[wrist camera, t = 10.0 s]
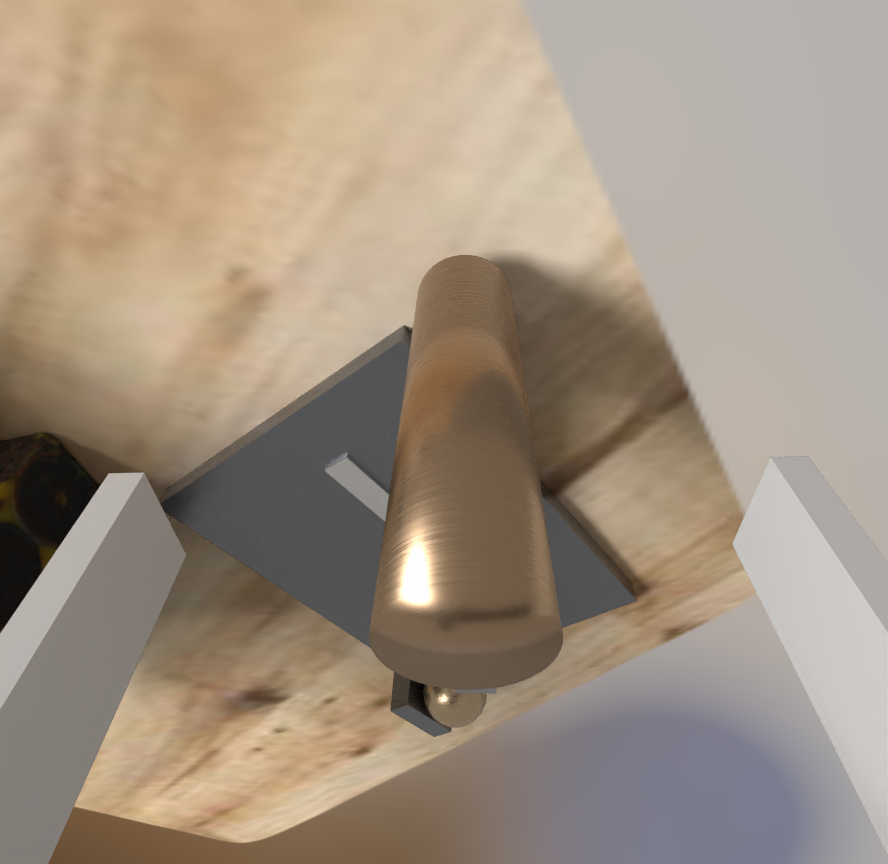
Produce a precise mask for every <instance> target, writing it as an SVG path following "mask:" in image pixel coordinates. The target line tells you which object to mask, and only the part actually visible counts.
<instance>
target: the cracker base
mask: <svg viewBox="0 0 888 864" xmlns="http://www.w3.org/2000/svg"><path fill="white" fill-rule="evenodd" d="M411 338H412V334H411V333H410V332H409V331H408V330H407V329H406V327H405V326H402V327H401V328H399V329H398V330H397V331H395V332H394V333H392V334H391V335H389V336H388V337H386V338H385V339H383V340H382V341H381V342H379V343H378V344H376V345H375V346H373V347H372V348H370V349H369V350H368V351H366V352H365V353H363V354H362V355H360V356H359V357H357V358H356V359H354V360H353V361H352V362H350V363H349V364H347V365H346V366H344V367H343V368H341V369H340V370H339V371H337V372H336V373H334V374H333V375H331V376H330V377H328V378H327V379H325V380H324V381H323V382H321V383H320V384H318V385H317V386H315V387H314V388H312V389H311V390H310V391H308V392H307V393H305V394H304V395H302V396H301V397H299V398H298V399H296V400H295V401H294V402H292V403H291V404H289V405H288V406H286V407H285V408H283V409H282V410H280V411H279V412H278V413H276V414H275V415H273V416H272V417H270V418H269V419H267V420H266V421H265V422H263V423H262V424H260V425H259V426H257V427H256V428H254V429H253V430H251V431H250V432H249V433H247V434H246V435H244V436H243V437H241V438H240V439H238V440H237V441H236V442H234V443H233V444H231V445H230V446H228V447H227V448H225V449H224V450H222V451H221V452H220V453H218V454H217V455H215V456H214V457H212V458H211V459H209V460H208V461H207V462H205V463H204V464H202V465H201V466H199V467H198V468H196V469H195V470H193V471H192V472H191V473H189V474H188V475H186V476H185V477H183V478H182V479H180V480H179V481H177V482H176V483H175V484H173V485H172V486H170V487H169V488H167V489H166V491H165V492H164V494H163V496H162V498H161V499H160V501H159V503H160V505H161V506H162V508H163V510H164V511H165V512H166V513H168V514H169V515H171V516H172V517H174V518H175V519H177V520H178V521H180V522H181V523H183V524H184V525H186V526H187V527H189V528H190V529H192V530H193V531H195V532H196V533H198V534H199V535H201V536H202V537H204V538H205V539H207V540H208V541H210V542H211V543H213V544H214V545H216V546H217V547H219V548H220V549H222V550H224V551H225V552H227V553H228V554H230V555H231V556H233V557H234V558H236V559H237V560H239V561H240V562H242V563H243V564H245V565H246V566H248V567H249V568H251V569H252V570H254V571H255V572H257V573H258V574H260V575H261V576H263V577H264V578H266V579H267V580H269V581H270V582H272V583H273V584H275V585H276V586H278V587H279V588H281V589H282V590H284V591H286V592H287V593H289V594H290V595H292V596H293V597H295V598H296V599H298V600H299V601H301V602H302V603H304V604H305V605H307V606H308V607H310V608H311V609H313V610H314V611H316V612H317V613H319V614H320V615H322V616H323V617H325V618H326V619H328V620H329V621H331V622H332V623H334V624H335V625H337V626H338V627H340V628H341V629H343V630H344V631H346V632H347V633H349V634H351V635H352V636H354V637H355V638H357V639H358V640H360V641H361V642H363V643H364V644H366V645H367V646H369V647H370V648H371V645H370V641H369V631H370V624H371V617H372V610H373V603H374V596H375V589H376V582H377V575H378V568H379V561H380V554H381V547H382V540H383V533H384V526H385V519H386V512H387V505H388V498H389V491H390V484H391V477H392V470H393V463H394V457H395V450H396V443H397V436H398V429H399V422H400V415H401V408H402V401H403V394H404V387H405V380H406V373H407V366H408V359H409V352H410V345H411ZM539 480H540V479H539ZM540 487H541V493H542V500H543V507H544V513H545V520H546V527H547V533H548V540H549V547H550V554H551V560H552V567H553V574H554V580H555V587H556V594H557V600H558V607H559V614H560V620H561V627H562V628H563V627H566V626H569V625H571V624H574V623H577V622H580V621H583V620H585V619H588V618H591V617H594V616H596V615H599V614H602V613H605V612H608V611H610V610H613V609H616V608H619V607H622V606H624V605H627V604H630V603H633V602H635V601H637V600H636V596H635V593H634V589H633V586H632V583H631V582H630V581H629V580H628V578H627V577H626V576H625V575H624V574H623V573H622V572H621V571H620V569H619V568H618V567H617V566H616V565H615V564H614V563H613V561H612V560H611V559H610V558H609V557H608V556H607V555H606V554H605V552H604V551H603V550H602V549H601V548H600V547H599V546H598V545H597V543H596V542H595V541H594V540H593V539H592V538H591V537H590V535H589V534H588V533H587V532H586V531H585V530H584V529H583V528H582V526H581V525H580V524H579V523H578V522H577V521H576V520H575V519H574V517H573V516H572V515H571V514H570V513H569V512H568V511H567V509H566V508H565V507H564V506H563V505H562V504H561V503H560V502H559V500H558V499H557V498H556V497H555V496H554V495H553V494H552V493H551V491H550V490H549V489H548V488H547V487H546V486H545V485H544V483H543V482H542V481H541V480H540ZM486 698H487V693H455V689H447V688H440V687H434V686H430V685H426V684H422V683H419V682H416V681H413V680H410V679H408V678H405V677H403V676H401V675H399V674H397V673H395V672H394V679H393V689H392V700H391V710H390V711H391V712H393V713H395V714H396V715H398V716H400V717H401V718H403V719H405V720H406V721H408V722H410V723H411V724H413V725H415V726H417V727H418V728H420V729H422V730H423V731H425V732H427V733H428V734H430V735H432V736H433V737H436V736H439V735H442V734H446V733H449V732H451V727H463V726H466V725H468V724H470V723H472V722H473V721H474V720H475V719H477V717H478V716H479V715H480V714H481V712H482V710H483V708H484V706H485V703H486Z"/></svg>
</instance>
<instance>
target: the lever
mask: <svg viewBox="0 0 888 864" xmlns="http://www.w3.org/2000/svg"><path fill="white" fill-rule="evenodd" d="M369 641H370V645H371V648H372V650H373V652H374V653H375V655H376V656H377V658H378V659H379V660H380V661H381V662H382V663H383V664H384V665H386V666H387V667H388V668H389V669H391V670H392V671H394V672H395V673H397V674H399V675H401V676H403V677H405V678H408V679H410V680H413V681H416V682H419V683H422V684H426V685H430V686H434V687H440V688H447V689H455V693H496V687H502V686H506V685H510V684H514V683H517V682H520V681H523V680H525V679H527V678H530V677H532V676H534V675H536V674H537V673H539V672H541V671H542V670H544V669H545V668H546V667H547V666H549V665H550V664H551V663H552V662H553V661H554V659H555V658H556V657H557V655H558V654H559V652H560V650H561V647H562V643H563V634H562V627H561V620H560V614H559V607H558V600H557V594H556V587H555V580H554V574H553V567H552V560H551V554H550V547H549V540H548V533H547V527H546V520H545V513H544V507H543V500H542V493H541V487H540V480H539V473H538V467H537V460H536V453H535V447H534V440H533V433H532V427H531V420H530V413H529V406H528V400H527V393H526V386H525V380H524V373H523V366H522V360H521V353H520V346H519V340H518V333H517V326H516V320H515V313H514V306H513V300H512V293H511V288H510V285H509V282H508V280H507V278H506V276H505V275H504V274H503V272H502V271H501V270H500V269H499V268H498V267H497V266H496V265H494V264H493V263H491V262H490V261H488V260H486V259H483V258H481V257H477V256H472V255H459V256H453V257H450V258H447V259H444V260H442V261H440V262H439V263H437V264H436V265H434V266H433V267H432V268H431V269H430V270H429V271H428V272H427V273H426V275H425V276H424V278H423V279H422V282H421V284H420V287H419V290H418V296H417V303H416V310H415V317H414V324H413V331H412V338H411V345H410V352H409V359H408V366H407V373H406V380H405V387H404V394H403V401H402V408H401V415H400V422H399V429H398V436H397V443H396V450H395V457H394V463H393V470H392V477H391V484H390V491H389V498H388V505H387V512H386V519H385V526H384V533H383V540H382V547H381V554H380V561H379V568H378V575H377V582H376V589H375V596H374V603H373V610H372V617H371V624H370V631H369Z"/></svg>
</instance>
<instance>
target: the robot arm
mask: <svg viewBox="0 0 888 864" xmlns="http://www.w3.org/2000/svg"><path fill="white" fill-rule="evenodd" d="M733 546H734V548H735V550H736V552H737V554H738V556H739V558H740V560H741V562H742V564H743V566H744V568H745V570H746V572H747V574H748V576H749V578H750V580H751V582H752V584H753V586H754V588H755V590H756V592H757V594H758V596H759V598H760V600H761V602H762V604H763V606H764V608H765V610H766V612H767V614H768V616H769V618H770V620H771V622H772V624H773V626H774V628H775V630H776V632H777V634H778V636H779V638H780V640H781V642H782V644H783V646H784V648H785V650H786V652H787V654H788V656H789V658H790V660H791V662H792V664H793V666H794V668H795V670H796V672H797V674H798V676H799V678H800V680H801V682H802V684H803V686H804V688H805V690H806V692H807V694H808V696H809V698H810V700H811V702H812V704H813V706H814V708H815V710H816V712H817V714H818V716H819V718H820V720H821V722H822V724H823V726H824V728H825V730H826V732H827V734H828V736H829V738H830V740H831V742H832V744H833V746H834V748H835V750H836V752H837V754H838V756H839V758H840V760H841V762H842V764H843V766H844V768H845V770H846V772H847V774H848V776H849V778H850V780H851V782H852V784H853V786H854V788H855V790H856V792H857V794H858V796H859V798H860V800H861V802H862V804H863V806H864V808H865V810H866V812H867V814H868V816H869V818H870V820H871V822H872V824H873V826H874V828H875V830H876V832H877V834H878V836H879V838H880V840H881V842H882V844H883V846H884V848H885V850H886V852H887V854H888V562H887V561H886V560H885V558H884V557H883V556H882V555H881V553H880V552H879V550H878V549H877V548H876V546H875V545H874V544H873V542H872V541H871V540H870V538H869V537H868V536H867V534H866V533H865V532H864V530H863V529H862V528H861V526H860V525H859V524H858V522H857V521H856V520H855V518H854V517H853V516H852V514H851V513H850V512H849V510H848V509H847V508H846V506H845V505H844V504H843V502H842V501H841V500H840V498H839V497H838V496H837V494H836V493H835V491H834V490H833V489H832V487H831V486H830V485H829V483H828V482H827V481H826V480H825V478H824V477H823V476H822V474H821V473H820V472H819V470H818V469H817V467H815V465H814V464H813V462H812V461H811V459H810V458H809V457H808V456H801V457H770V460H769V462H768V464H767V466H766V468H765V471H764V473H763V475H762V478H761V480H760V482H759V485H758V487H757V489H756V491H755V494H754V496H753V498H752V501H751V503H750V505H749V508H748V510H747V512H746V514H745V516H744V519H743V521H742V523H741V525H740V528H739V530H738V532H737V535H736V537H735V539H734V541H733ZM185 557H186V554H185V552H184V550H183V548H182V546H181V544H180V542H179V540H178V538H177V536H176V534H175V532H174V530H173V528H172V526H171V524H170V522H169V520H168V518H167V516H166V514H165V512H164V510H163V508H162V506H161V505H160V503H159V501H158V499H157V497H156V495H155V493H154V491H153V489H152V487H151V485H150V483H149V481H148V479H147V477H146V475H145V473H109V474H108V475H107V477H106V478H105V480H104V481H103V483H102V484H101V486H100V487H99V489H98V490H97V492H96V493H95V495H94V496H93V497H92V499H91V500H90V502H89V503H88V505H87V506H86V508H85V509H84V511H83V512H82V514H81V515H80V517H79V518H78V520H77V521H76V523H75V524H74V526H73V527H72V528H71V530H70V531H69V533H68V534H67V536H66V537H65V539H64V540H63V542H62V543H61V545H60V546H59V548H58V549H57V551H56V552H55V554H54V555H53V557H52V558H51V559H50V561H49V562H48V564H47V565H46V567H45V568H44V570H43V571H42V573H41V574H40V576H39V577H38V579H37V580H36V582H35V583H34V585H33V586H32V588H31V589H30V590H29V592H28V593H27V595H26V596H25V598H24V599H23V601H22V602H21V604H20V605H19V607H18V608H17V610H16V611H15V613H14V614H13V616H12V617H11V619H10V620H9V621H8V623H7V624H6V626H5V627H4V629H3V630H2V632H1V633H0V864H48V863H49V860H50V858H51V856H52V853H53V851H54V849H55V847H56V845H57V842H58V840H59V838H60V836H61V833H62V831H63V829H64V827H65V824H66V822H67V820H68V818H69V816H70V813H71V811H72V809H73V807H74V805H75V802H76V800H77V798H78V796H79V793H80V791H81V789H82V787H83V785H84V782H85V780H86V778H87V776H88V773H89V771H90V769H91V767H92V764H93V762H94V760H95V758H96V756H97V753H98V751H99V749H100V747H101V744H102V742H103V740H104V738H105V735H106V733H107V731H108V729H109V727H110V724H111V722H112V720H113V718H114V715H115V713H116V711H117V709H118V706H119V704H120V702H121V700H122V698H123V695H124V693H125V691H126V689H127V686H128V684H129V682H130V680H131V678H132V675H133V673H134V671H135V669H136V666H137V664H138V662H139V660H140V657H141V655H142V653H143V651H144V649H145V646H146V644H147V642H148V640H149V637H150V635H151V633H152V631H153V628H154V626H155V624H156V622H157V620H158V617H159V615H160V613H161V611H162V608H163V606H164V604H165V602H166V600H167V597H168V595H169V593H170V591H171V588H172V586H173V584H174V582H175V579H176V577H177V575H178V573H179V571H180V568H181V566H182V564H183V562H184V559H185Z"/></svg>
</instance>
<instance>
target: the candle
mask: <svg viewBox="0 0 888 864" xmlns="http://www.w3.org/2000/svg"><path fill="white" fill-rule="evenodd" d="M99 487H100V486H99V485H98V484H97V483H96V482H94V481H93V480H92V479H91V478H90V477H89V476H88V475H87V474H86V473H85V472H84V470H83V469H82V468H81V466H80V465H79V464H78V462H77V461H76V460H75V459H74V458H73V457H72V456H71V455H70V454H68V453H67V452H66V451H65V450H64V449H63V447H62V445H61V444H60V443H59V441H57V440H56V439H54V438H52V437H50V436H48V435H47V434H45V433H40V434H34V435H29V436H24V437H20V438H16V439H12V440H8V441H2V442H0V633H1V632H2V630H3V629H4V627H5V626H6V624H7V623H8V621H9V620H10V619H11V617H12V616H13V614H14V613H15V611H16V610H17V608H18V607H19V605H20V604H21V602H22V601H23V599H24V598H25V596H26V595H27V593H28V592H29V590H30V589H31V588H32V586H33V585H34V583H35V582H36V580H37V579H38V577H39V576H40V574H41V573H42V571H43V570H44V568H45V567H46V565H47V564H48V562H49V561H50V559H51V558H52V557H53V555H54V554H55V552H56V551H57V549H58V548H59V546H60V545H61V543H62V542H63V540H64V539H65V537H66V536H67V534H68V533H69V531H70V530H71V528H72V527H73V526H74V524H75V523H76V521H77V520H78V518H79V517H80V515H81V514H82V512H83V511H84V509H85V508H86V506H87V505H88V503H89V502H90V500H91V499H92V497H93V496H94V495H95V493H96V492H97V490H98V489H99Z"/></svg>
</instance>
